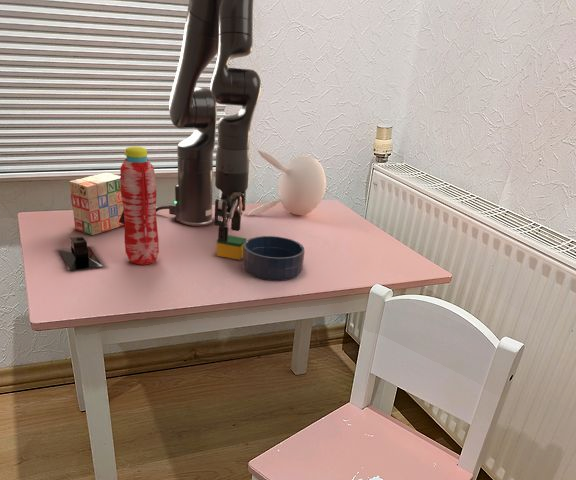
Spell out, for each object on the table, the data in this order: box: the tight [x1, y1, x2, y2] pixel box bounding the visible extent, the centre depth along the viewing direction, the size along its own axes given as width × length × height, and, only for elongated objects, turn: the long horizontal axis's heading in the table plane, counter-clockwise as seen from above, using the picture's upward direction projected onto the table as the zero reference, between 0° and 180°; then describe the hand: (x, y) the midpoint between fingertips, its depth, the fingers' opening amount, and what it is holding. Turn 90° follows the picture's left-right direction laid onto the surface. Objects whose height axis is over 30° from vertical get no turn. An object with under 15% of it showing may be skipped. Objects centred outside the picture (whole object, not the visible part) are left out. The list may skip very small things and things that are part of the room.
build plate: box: [58, 236, 104, 272], centre depth 131 cm, size 12×7×5 cm, turn 29°
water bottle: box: [119, 146, 160, 266], centre depth 128 cm, size 12×8×25 cm, turn 28°
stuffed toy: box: [246, 150, 332, 216], centre depth 168 cm, size 19×14×25 cm
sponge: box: [216, 234, 247, 261], centre depth 141 cm, size 6×4×4 cm
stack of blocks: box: [69, 172, 125, 236], centre depth 150 cm, size 21×6×12 cm, turn 148°
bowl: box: [242, 235, 306, 282], centre depth 135 cm, size 14×14×6 cm
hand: (229, 235), depth 140 cm, fingers open, 8 cm apart
